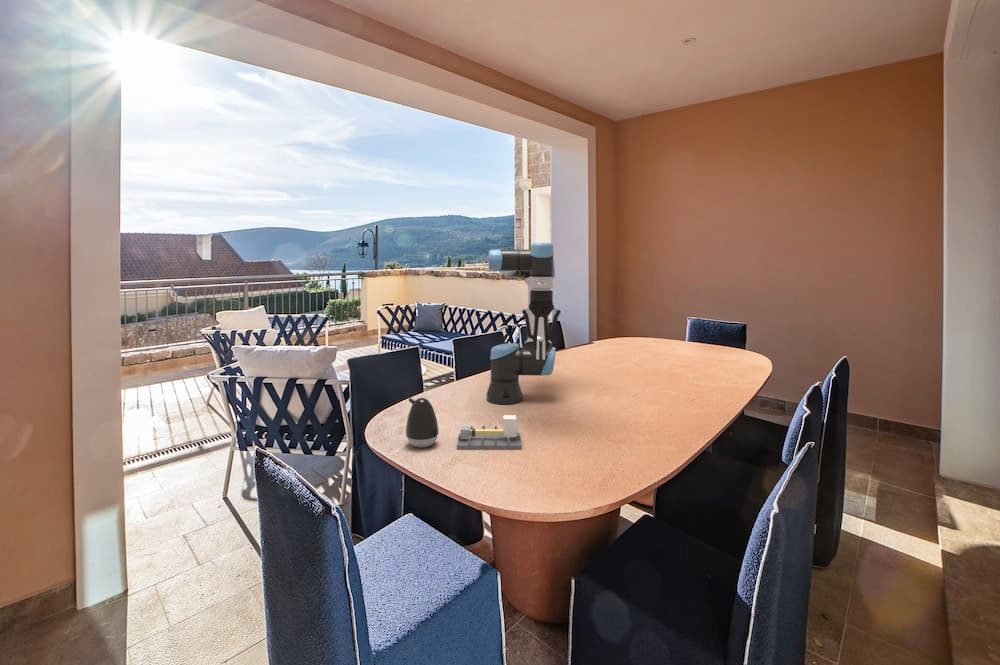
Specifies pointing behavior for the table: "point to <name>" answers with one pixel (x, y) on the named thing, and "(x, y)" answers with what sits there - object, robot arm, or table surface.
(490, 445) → the cable comb
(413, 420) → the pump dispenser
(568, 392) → the table surface
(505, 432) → the sleeve
